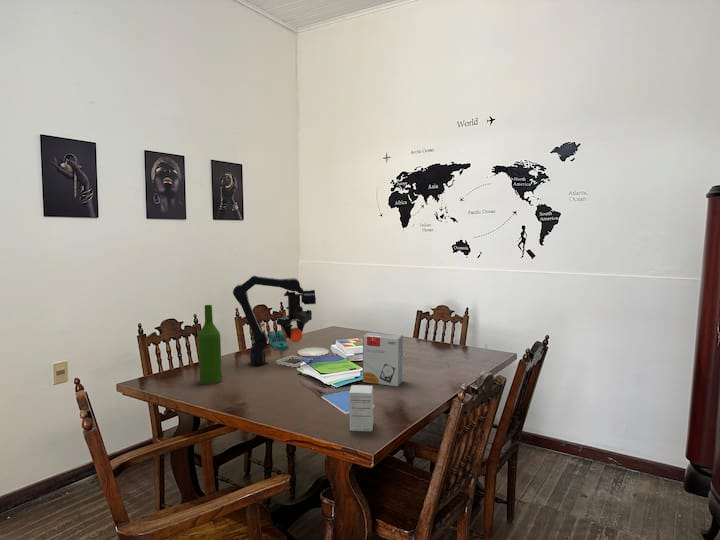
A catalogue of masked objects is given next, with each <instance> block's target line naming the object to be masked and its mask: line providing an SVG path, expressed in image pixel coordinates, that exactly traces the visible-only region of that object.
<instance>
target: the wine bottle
mask: <svg viewBox="0 0 720 540" xmlns="http://www.w3.org/2000/svg"><path fill="white" fill-rule="evenodd" d="M213 319H214V318H213V305H212V304H205V305H204V325H203V327H202V328H201V330H200V331H199V333H198V337H197V338H198V340H197V341H198V361H199V362H198V363H199V365H198V367H199V368H198V369H199V383H200V382H201V383H200V384H202V383H203V384H202V385H215V384H214V383H216V384H218V382H219V383H221V382H222V380H223V379H222V378H223V377H222V375H223V372H222V349H221V348H222V347H221V346H222V345H221V344H222V343H221V333H220V331H219V329H218V328H217V326H216V325H215V324H214V322H213V321H214V320H213ZM220 381H221V382H220Z"/></svg>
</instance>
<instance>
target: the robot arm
mask: <svg viewBox="0 0 720 540" xmlns="http://www.w3.org/2000/svg"><path fill="white" fill-rule="evenodd" d="M257 285H258V286H265V287H275V288H281V289H284V290H286V292H285V293H283V295H284V296H285V297H287V302H288V303H287V307H286V308H285V309H286V310H288V313H287V315H286V317H278V318H277V319H276V325H277V326H280V327H282V328H283V331H284V333H285V335H286V336H287V338H288V339H289V338H291V328H293V324H292V322H296V328H298V329H300V330H301V331H302V332H303V331H304V328H305V325H306V324H307V323H309V321H311V320H313V319H312V316H313V315H312V314H313V313H312V310H311V309H307V310H303V307H302V306H301V303H303V305H316V300H317V298H316V290H315V289H311V290H304V289H303V288H302V286H301V284H300V280H299V279H298V278H294V277H292V278H274V277H267V276H266V277H265V276H264V277H263V276H259V275H258V276H257V275H252V276H250V278H249V279H247V280H246V281H245V282H243V283H242V284H237V285H236V286H235V287H234V288H233V290H232V294H233V296H234V298H235V299H236V301H237V302H238V304H239V305H240V306H241V309H242V311H243V314H244V315H245V317H246V321H247V322H248V324H249V327H250V329H251V332H252V337H253V344H251V346H250V352H249V357H250V362H248V365H250V366H255V367H259V366H262V365H266V364H268V362H266V353H265V350H264V349H266V347H267V346H268V343H269V335H267V332H266V329H264V330H262V329H261V327H260V325H259V323H258V320H257V318H256V315H255V313H254V310H253V308H252V306H251V303H250V300H249V295H248V291H249V290H250V289H252V288H253V287H254V286H257Z"/></svg>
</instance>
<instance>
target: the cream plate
mask: <svg viewBox="0 0 720 540" xmlns="http://www.w3.org/2000/svg"><path fill="white" fill-rule="evenodd" d="M328 353H329V354H330V351H329V348H328V349H327V348H323V347H306V348H301V349H299V350H297V355H298V354H299V355H301V356H300V357H302V356H321V355H325V354H328ZM329 354H328V355H329ZM299 355H298V356H299ZM325 356H326V355H325ZM321 357H322V356H321Z"/></svg>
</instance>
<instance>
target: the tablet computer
mask: <svg viewBox="0 0 720 540" xmlns="http://www.w3.org/2000/svg"><path fill="white" fill-rule="evenodd" d="M349 392H350V390H343V391H339V392H334V393H329V394H326V395H322V396H321V399H322V400H324V401H326V402H327V403H329V404H330V405H331V406H333V408H335V409H337V410H339V411H340V412H341V413H342V414H344V415H350V413H349ZM373 409H375V405H374V404H373Z"/></svg>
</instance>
